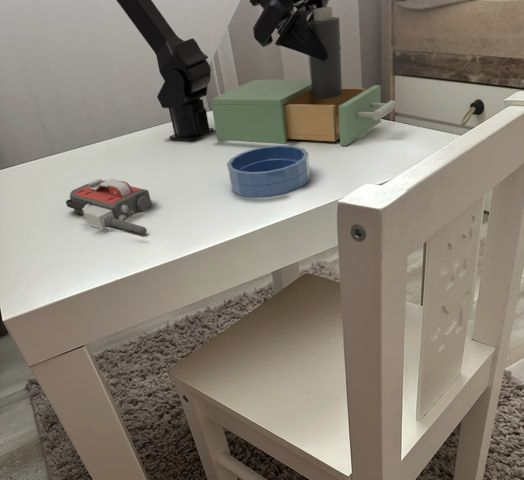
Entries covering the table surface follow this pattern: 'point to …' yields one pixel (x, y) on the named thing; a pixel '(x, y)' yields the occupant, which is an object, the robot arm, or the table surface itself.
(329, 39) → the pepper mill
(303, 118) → the drawer
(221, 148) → the table surface
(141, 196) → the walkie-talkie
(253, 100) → the cabinet
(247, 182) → the bowl
